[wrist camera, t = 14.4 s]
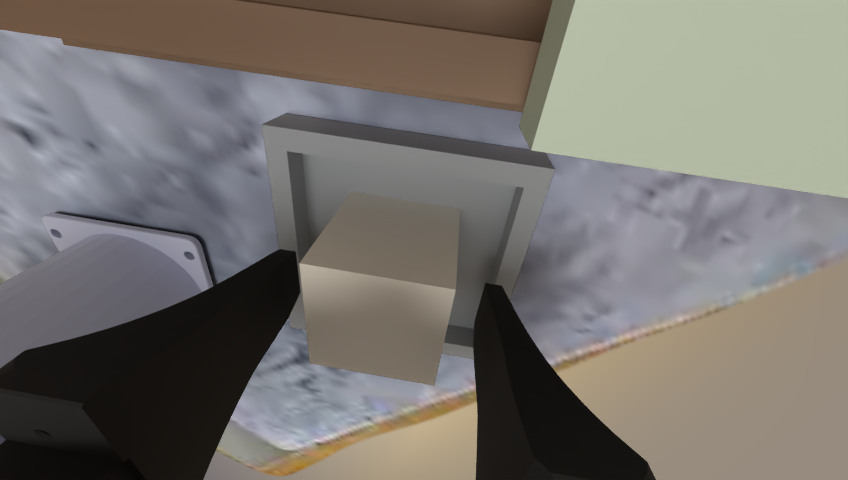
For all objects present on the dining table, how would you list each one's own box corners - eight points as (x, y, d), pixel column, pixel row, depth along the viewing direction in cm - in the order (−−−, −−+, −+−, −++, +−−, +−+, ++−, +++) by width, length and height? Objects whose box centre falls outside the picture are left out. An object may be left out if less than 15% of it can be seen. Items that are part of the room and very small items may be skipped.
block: (443, 291, 16) (434, 385, 12) (351, 276, 16) (309, 363, 12) (460, 208, 14) (455, 290, 9) (351, 191, 14) (299, 263, 10)
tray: (486, 333, 18) (488, 361, 17) (305, 302, 18) (290, 327, 17) (545, 152, 13) (555, 169, 11) (285, 113, 13) (261, 124, 11)
